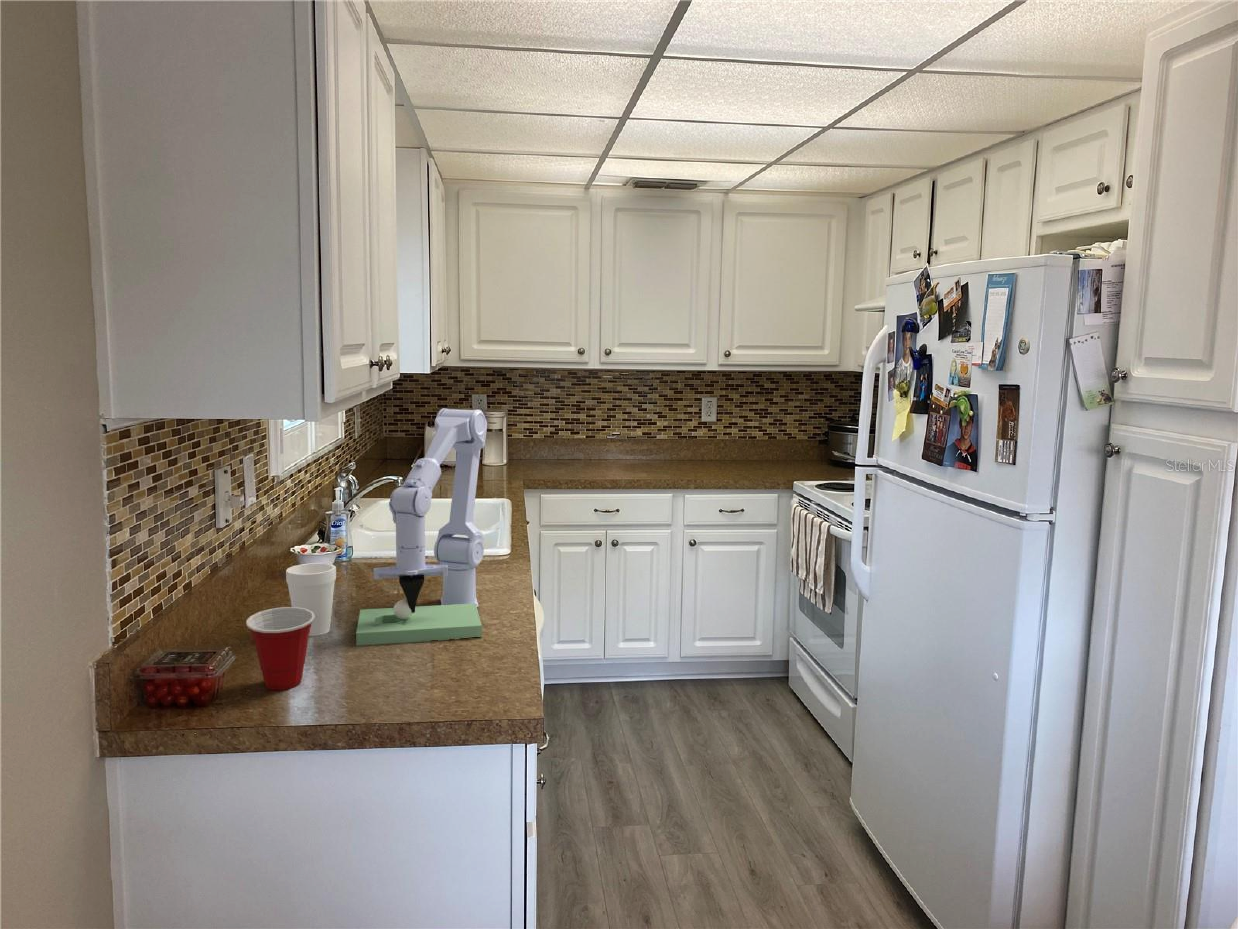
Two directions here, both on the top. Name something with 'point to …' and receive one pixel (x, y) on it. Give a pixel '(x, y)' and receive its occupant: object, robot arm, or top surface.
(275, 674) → the plastic cup
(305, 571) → the foam cup
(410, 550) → the robot arm
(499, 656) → the top surface
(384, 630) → the putting mat
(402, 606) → the ball
